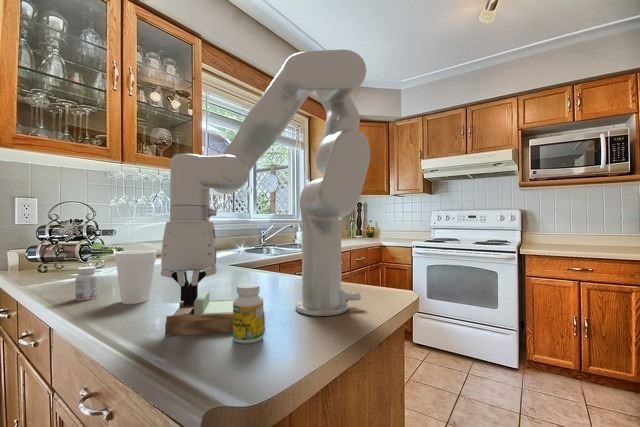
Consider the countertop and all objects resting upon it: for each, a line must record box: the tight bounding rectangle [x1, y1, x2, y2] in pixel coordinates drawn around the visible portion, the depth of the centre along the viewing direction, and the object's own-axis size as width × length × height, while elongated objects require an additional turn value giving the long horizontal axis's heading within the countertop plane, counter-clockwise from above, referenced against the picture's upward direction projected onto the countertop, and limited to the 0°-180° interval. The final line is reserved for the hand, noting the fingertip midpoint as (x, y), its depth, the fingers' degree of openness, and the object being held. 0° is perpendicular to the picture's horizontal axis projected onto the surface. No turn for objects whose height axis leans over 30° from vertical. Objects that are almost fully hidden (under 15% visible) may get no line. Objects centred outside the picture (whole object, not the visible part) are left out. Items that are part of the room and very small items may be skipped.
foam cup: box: [114, 249, 157, 305], centre depth 83 cm, size 10×9×13 cm
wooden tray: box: [164, 297, 265, 337], centre depth 65 cm, size 18×12×3 cm, turn 102°
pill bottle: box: [74, 266, 98, 301], centre depth 85 cm, size 5×5×8 cm
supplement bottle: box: [232, 283, 264, 345], centre depth 56 cm, size 5×5×10 cm
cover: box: [194, 290, 233, 314], centre depth 65 cm, size 9×9×3 cm
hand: (189, 304), depth 64 cm, fingers closed
